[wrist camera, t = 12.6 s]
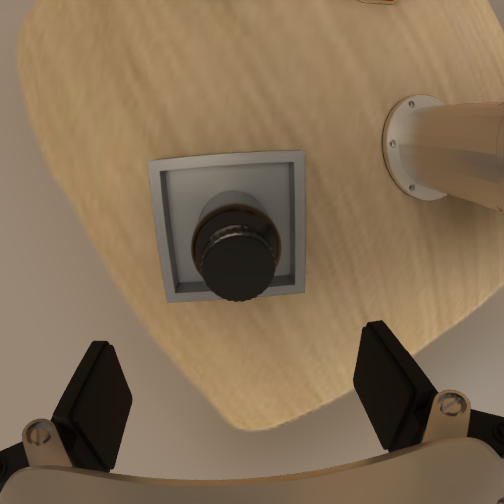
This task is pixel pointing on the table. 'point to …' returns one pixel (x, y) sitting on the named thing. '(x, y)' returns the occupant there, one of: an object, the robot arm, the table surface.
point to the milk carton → (379, 1)
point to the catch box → (212, 184)
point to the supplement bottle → (236, 246)
